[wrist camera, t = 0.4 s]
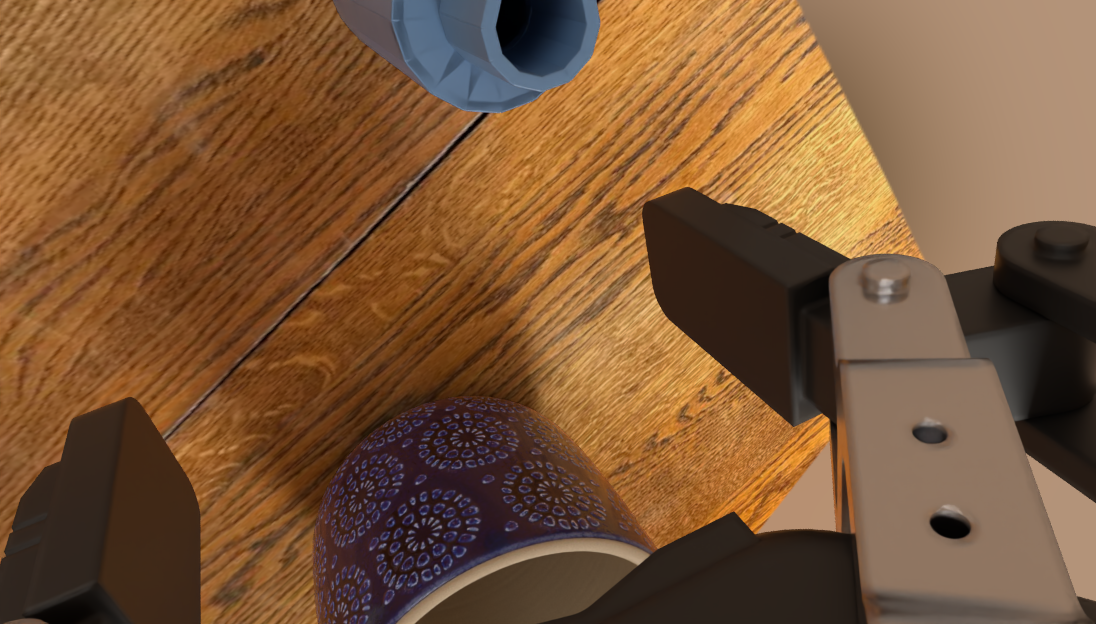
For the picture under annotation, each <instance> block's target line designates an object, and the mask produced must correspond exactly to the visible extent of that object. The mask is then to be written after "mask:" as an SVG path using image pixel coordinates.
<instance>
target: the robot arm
mask: <svg viewBox="0 0 1096 624" xmlns="http://www.w3.org/2000/svg"><path fill="white" fill-rule="evenodd" d="M642 218H643V226H644V232H645V239H646V245H647V252H648V258H649V265H650V272H651V278H652V285H653V289H654V293H655V296H656V299H657V301H658V303H659V305H660V307H661V309H662V311H663V312H664V314H665V315H666V316H667V318H668V319H669V320H670V321H671V322H672V323H674V324H675V325H676V326H677V327H678V328H679V329H681V330H682V331H683V332H684V333H685V334H686V335H688V336H689V337H690V338H691V339H692V340H693V341H695V342H696V343H697V344H698V345H699V346H700V347H701V348H703V349H704V350H705V351H706V352H707V353H708V354H710V355H711V356H712V357H713V358H714V359H715V360H717V361H718V362H719V363H720V364H721V365H722V366H724V367H725V368H726V369H727V370H728V371H729V372H731V373H732V374H733V375H734V376H735V377H736V378H737V379H739V380H740V381H741V382H742V383H743V384H744V385H746V386H747V387H748V388H749V389H750V390H751V391H753V392H754V393H755V394H756V395H757V396H758V397H760V398H761V399H762V400H763V401H764V402H765V403H766V404H768V405H769V406H770V407H771V408H772V409H773V410H775V411H776V412H777V413H778V414H779V415H780V416H782V417H783V418H784V419H785V420H786V421H787V422H789V423H790V424H791V425H792V426H793V427H795V426H797V425H799V424H801V423H803V422H805V421H807V420H809V419H811V418H813V417H815V416H817V415H820V414H822V413H823V414H824V415H825V416H826V417H828V418H829V428H830V451H831V464H832V480H833V494H834V508H835V520H836V521H835V522H836V532H835V531H827V530H813V529H795V530H794V529H792V530H780V531H771V532H764V533H759V534H754V533H753V532H752V531H751V530H750V529H749V528H748V526H747V525H746V524H745V523H744V522H743V521H742V520H741V519H740V518H739V516H738V515H737V514H736V513H735V512H732V513H730V514H728V515H726V516H724V517H722V518H720V519H718V520H716V521H714V522H712V523H710V524H708V525H706V526H704V527H702V528H700V529H698V530H696V531H694V532H692V533H690V534H688V535H686V536H684V537H682V538H680V539H678V540H676V541H674V542H672V543H670V544H668V545H666V546H664V547H662V548H660V549H658V550H656V551H655V552H654V553H652V554H651V555H650V556H649V557H648V558H646V559H645V560H644V561H643V562H642V563H640V564H639V565H638V566H637V567H636V568H634V569H633V570H632V571H631V572H630V573H629V574H627V575H626V576H625V577H624V578H623V579H621V580H620V581H619V582H618V583H617V584H615V585H614V586H613V587H612V588H611V589H609V590H608V591H607V592H606V593H605V594H604V595H602V596H601V597H600V598H599V599H598V600H596V601H595V602H594V603H593V604H592V605H590V606H589V607H588V608H586V609H585V610H583V611H581V612H579V613H576V614H573V615H570V616H566V617H562V618H558V619H554V620H550V621H546V622H542V623H538V624H1096V601H1093V600H1089V599H1085V598H1082V597H1078V596H1076V593H1075V590H1074V588H1073V585H1072V582H1071V579H1070V577H1069V574H1068V571H1067V568H1066V565H1065V562H1064V560H1063V557H1062V554H1061V551H1060V548H1059V546H1058V543H1057V540H1056V537H1055V535H1054V532H1053V529H1052V526H1051V523H1050V521H1049V518H1048V515H1047V512H1046V509H1045V507H1044V504H1043V501H1042V498H1041V495H1040V492H1039V490H1038V487H1037V484H1036V481H1035V478H1034V476H1033V473H1032V470H1031V467H1030V464H1029V462H1028V459H1027V456H1026V453H1027V454H1028V455H1029V456H1031V457H1032V458H1034V459H1035V460H1036V461H1038V462H1039V463H1041V464H1042V465H1044V466H1045V467H1047V468H1048V469H1049V470H1050V471H1052V472H1053V473H1055V474H1056V475H1057V476H1059V477H1060V478H1062V479H1063V480H1064V481H1066V482H1067V483H1069V484H1070V485H1071V486H1073V487H1074V488H1076V489H1077V490H1078V491H1080V492H1081V493H1082V494H1084V495H1085V496H1087V497H1088V498H1089V499H1091V500H1092V501H1094V502H1095V503H1096V227H1095V226H1091V225H1086V224H1082V223H1075V222H1066V221H1041V222H1033V223H1028V224H1023V225H1020V226H1017V227H1014V228H1012V229H1009V230H1008V231H1006V232H1005V233H1003V234H1002V235H1001V236H1000V237H999V239H998V242H997V249H996V256H995V265H994V266H990V267H985V268H980V269H975V270H969V271H964V272H959V273H954V274H949V275H943V273H942V272H941V271H940V270H939V269H938V268H937V267H935V266H934V265H932V264H930V263H929V262H927V261H924V260H921V259H919V258H915V257H911V256H906V255H899V254H874V255H867V256H861V257H858V258H854V259H849V258H847V257H845V256H843V255H842V254H840V253H838V252H836V251H834V250H832V249H830V248H828V247H826V246H825V245H823V244H821V243H819V242H817V241H815V240H813V239H811V238H809V237H808V236H806V235H804V234H802V233H800V232H799V233H796V232H795V230H794V229H792V228H791V227H789V226H787V225H785V224H783V223H780V224H778V222H777V220H775V219H773V218H772V217H770V216H768V215H766V214H764V213H762V212H760V211H758V210H756V209H753V208H748V207H743V206H738V205H733V204H728V203H725V204H722V205H721V204H720V203H718V202H716V201H714V200H712V199H711V198H709V197H707V196H705V195H703V194H702V193H700V192H698V191H696V190H694V189H693V188H690V187H685V188H682V189H680V190H677V191H674V192H672V193H669V194H666V195H664V196H661V197H658V198H656V199H653V200H651V201H648V202H646V203H645V204H644V206H643V211H642ZM12 529H13V533H10V535H9V538H8V541H7V545H6V548H5V551H4V552H5V554H6V557H4V558H2V561H1V564H0V624H201V610H200V510H199V505H198V501H197V498H196V495H195V492H194V490H193V487H192V485H191V483H190V481H189V479H188V477H187V475H186V474H185V472H184V471H183V469H182V467H181V466H180V464H179V463H178V461H177V460H176V458H175V456H174V455H173V453H172V452H171V450H170V449H169V447H168V445H167V444H166V442H165V441H164V439H163V438H162V436H161V435H160V433H159V431H158V430H157V428H156V427H155V425H154V424H153V422H152V420H151V419H150V417H149V416H148V414H147V413H146V411H145V410H144V408H143V407H142V406H141V404H140V403H139V402H138V401H137V400H136V399H134V398H132V397H128V398H125V399H122V400H120V401H117V402H115V403H112V404H109V405H107V406H104V407H101V408H99V409H96V410H93V411H91V412H88V413H86V414H83V415H80V416H78V417H75V418H73V419H72V421H71V423H70V426H69V430H68V434H67V438H66V442H65V446H64V450H63V454H62V458H61V461H60V462H57V463H55V464H52V465H49V466H47V467H45V468H44V469H43V470H42V472H41V473H40V474H39V475H38V477H37V478H36V479H35V481H34V482H33V483H32V485H31V486H30V487H29V488H28V490H27V491H26V492H25V494H24V495H23V496H22V498H21V499H20V502H19V506H18V509H17V512H16V515H15V519H14V522H13V525H12Z"/></svg>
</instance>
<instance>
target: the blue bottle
mask: <svg viewBox="0 0 1096 624" xmlns="http://www.w3.org/2000/svg"><path fill="white" fill-rule="evenodd" d="M333 2H334V4H335V7H336V9H337V11H338V13H339V15H340V17H341V19H342V20H343V21H344V22H345V24H346V25H347V26H348V28H349V29H350V30H351V31H352V32H353V33H354V34H355V35H356V36H357V37H358V39H359V40H361V41H362V42H363V43H365V44H366V45H367V46H369V47H370V48H371V49H372V50H374V51H375V52H376V53H378V54H379V55H380V56H382V57H383V58H384V59H386V60H387V61H388V62H390V63H391V64H392V65H394V66H395V67H396V68H398V69H399V70H400V71H402V72H403V73H404V74H406V75H407V76H408V77H410V78H411V79H412V80H414V81H415V82H416V83H418V84H419V85H420V86H422V87H423V88H424V89H426V90H427V91H428V92H430V93H431V94H432V95H434V96H436V97H438V98H440V99H442V100H444V101H446V102H448V103H450V104H452V105H454V106H456V107H457V108H459V109H461V110H465V111H471V112H488V113H500V112H501V113H503V112H505V111H508V110H511V109H513V108H516V107H519V106H522V105H524V104H527V103H530V102H532V101H534V100H536V99H537V98H538V97H539V96H540V95H541V94H542V93H543V92H545V91H546V90H549V89H552V88H554V87H557V86H560V85H563V84H565V83H568V82H570V81H571V80H572V79H573V78H574V77H575V76H576V75H577V73H578V72H579V71H580V70H581V69H582V68H583V66H584V65H585V64H586V63H587V62H588V61H589V59H590V58H591V56H592V54H593V51H594V47H595V43H596V39H597V35H598V32H599V28H600V18H599V12H598V7H597V2H596V0H333Z"/></svg>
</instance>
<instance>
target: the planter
mask: <svg viewBox="0 0 1096 624" xmlns="http://www.w3.org/2000/svg"><path fill="white" fill-rule="evenodd" d="M656 550H658V549H657V548H656V546H655V545H654V543H653V542H652V541H651V539H650V538H649V536H648V535H647V534H646V532H645V531H644V529H643V528H642V526H641V525H640V524H639V522H638V521H637V519H636V518H635V517H634V515H633V514H632V512H631V511H630V510H629V508H628V507H627V505H626V504H625V503H624V501H623V500H622V499H621V498H620V496H619V495H618V494H617V492H616V491H615V490H614V489H613V487H612V486H611V485H610V483H609V482H608V481H607V480H606V478H605V477H604V476H603V474H602V473H601V472H600V470H599V469H598V468H597V467H596V465H595V464H594V463H593V462H592V461H591V460H590V459H589V457H588V456H587V455H586V454H585V453H584V452H583V451H582V450H581V448H580V447H579V446H578V445H577V444H576V443H575V442H574V441H573V440H572V439H571V438H570V437H569V436H568V435H567V434H566V433H565V432H564V431H563V430H562V429H561V428H560V427H559V426H557V425H556V424H555V423H553V422H552V421H551V420H549V419H548V418H546V417H545V416H543V415H542V414H540V413H539V412H537V411H535V410H533V409H531V408H529V407H527V406H525V405H522V404H519V403H516V402H513V401H509V400H504V399H499V398H494V397H486V396H459V397H451V398H446V399H440V400H436V401H432V402H428V403H425V404H422V405H419V406H416V407H414V408H412V409H409V410H407V411H405V412H403V413H401V414H399V415H397V416H395V417H394V418H392V419H390V420H389V421H387V422H386V423H384V424H383V425H381V426H380V427H378V428H377V429H376V430H374V431H373V432H372V433H371V434H369V435H368V436H367V437H366V438H365V439H364V440H362V441H361V442H360V443H359V444H358V445H357V446H356V447H355V448H354V450H353V451H352V452H351V453H350V454H349V455H348V456H347V458H346V459H345V460H344V462H343V463H342V464H341V466H340V467H339V469H338V470H337V472H336V474H335V475H334V477H333V478H332V480H331V482H330V483H329V485H328V487H327V489H326V491H325V493H324V496H323V498H322V501H321V504H320V507H319V510H318V515H317V519H316V525H315V530H314V536H313V579H314V595H315V606H316V613H317V621H318V624H538V623H542V622H546V621H550V620H554V619H558V618H562V617H566V616H570V615H573V614H576V613H579V612H581V611H583V610H585V609H586V608H588V607H589V606H590V605H592V604H593V603H594V602H595V601H596V600H598V599H599V598H600V597H601V596H602V595H604V594H605V593H606V592H607V591H608V590H609V589H611V588H612V587H613V586H614V585H615V584H617V583H618V582H619V581H620V580H621V579H623V578H624V577H625V576H626V575H627V574H629V573H630V572H631V571H632V570H633V569H634V568H636V567H637V566H638V565H639V564H640V563H642V562H643V561H644V560H645V559H646V558H648V557H649V556H650V555H651V554H652V553H654V552H655V551H656Z"/></svg>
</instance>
